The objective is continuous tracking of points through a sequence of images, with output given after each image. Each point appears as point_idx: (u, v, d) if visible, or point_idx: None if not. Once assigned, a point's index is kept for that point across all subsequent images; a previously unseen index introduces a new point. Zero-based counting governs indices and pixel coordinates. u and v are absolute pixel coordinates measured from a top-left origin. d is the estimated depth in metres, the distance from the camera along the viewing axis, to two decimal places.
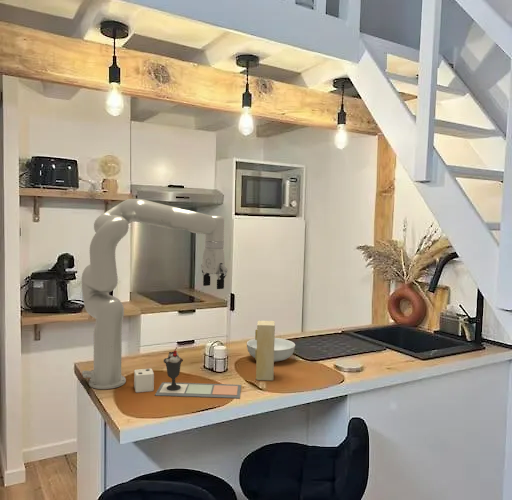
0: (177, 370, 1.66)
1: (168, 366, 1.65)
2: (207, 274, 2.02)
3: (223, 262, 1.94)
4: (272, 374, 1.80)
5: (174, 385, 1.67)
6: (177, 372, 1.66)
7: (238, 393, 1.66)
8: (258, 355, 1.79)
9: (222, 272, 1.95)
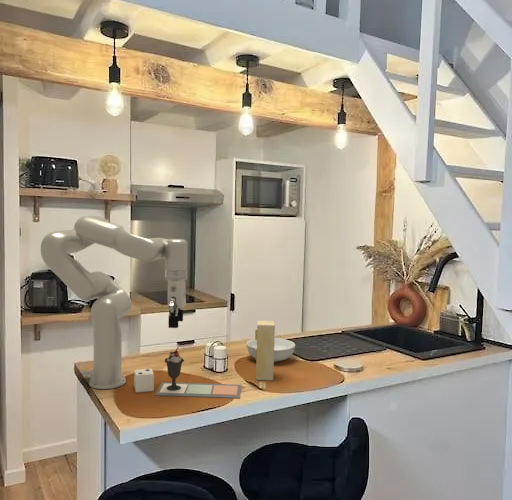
0: (178, 370, 1.66)
1: (169, 366, 1.65)
2: None
3: None
4: (272, 374, 1.80)
5: (174, 385, 1.67)
6: (178, 372, 1.66)
7: (238, 393, 1.66)
8: (258, 355, 1.79)
9: None
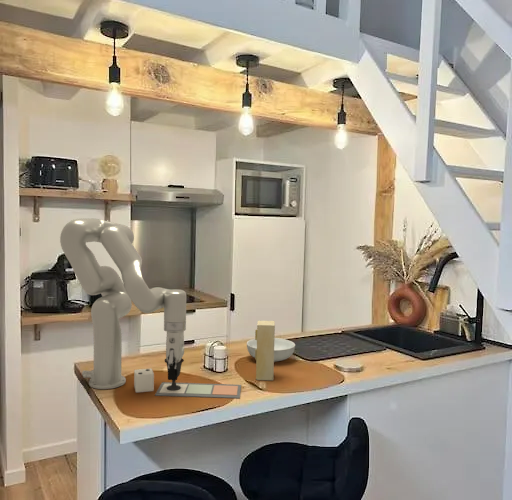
0: (178, 370, 1.66)
1: None
2: None
3: None
4: (272, 374, 1.80)
5: (174, 385, 1.67)
6: (178, 372, 1.66)
7: (238, 393, 1.66)
8: (258, 355, 1.79)
9: None
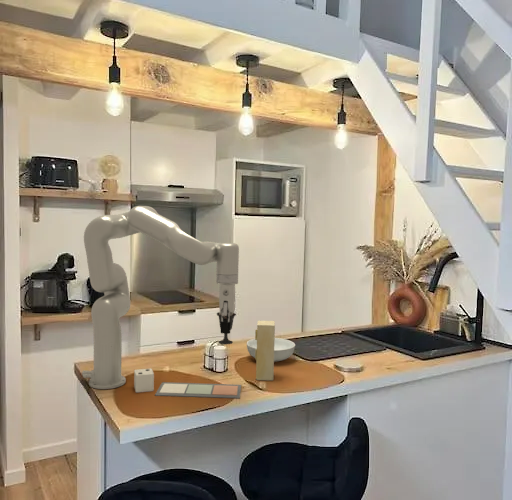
0: (230, 324, 1.64)
1: None
2: None
3: None
4: (272, 374, 1.80)
5: (226, 339, 1.66)
6: (230, 326, 1.65)
7: (238, 393, 1.66)
8: (258, 355, 1.79)
9: None
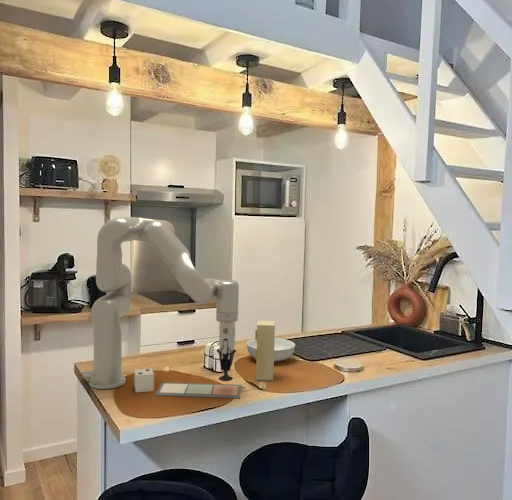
0: (230, 360, 1.66)
1: None
2: None
3: None
4: (272, 374, 1.80)
5: (226, 376, 1.67)
6: (230, 362, 1.66)
7: (238, 393, 1.66)
8: (258, 355, 1.79)
9: None
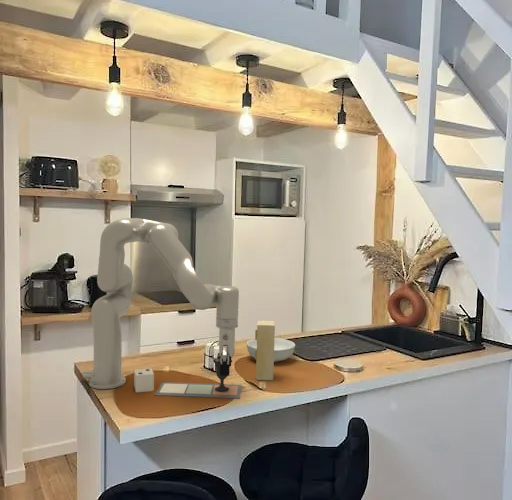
0: None
1: (218, 366, 1.66)
2: None
3: None
4: (272, 374, 1.80)
5: (223, 386, 1.67)
6: None
7: (238, 393, 1.66)
8: (258, 355, 1.79)
9: None
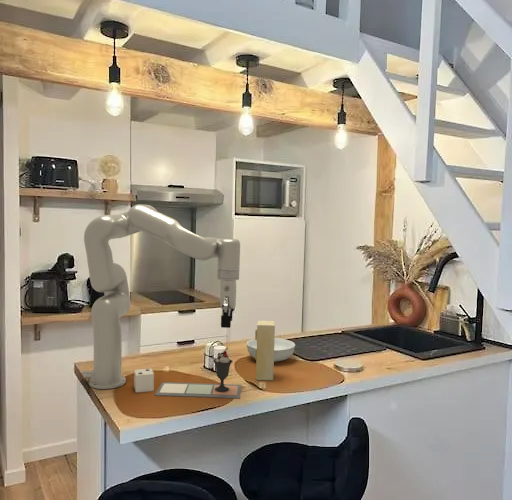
0: (227, 371, 1.66)
1: (218, 366, 1.66)
2: None
3: None
4: (272, 374, 1.80)
5: (223, 386, 1.67)
6: (227, 373, 1.67)
7: (238, 393, 1.66)
8: (258, 355, 1.79)
9: None
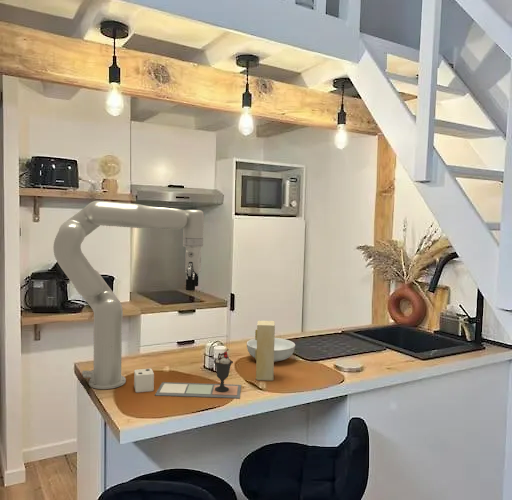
0: (227, 372, 1.66)
1: (219, 367, 1.65)
2: None
3: None
4: (272, 374, 1.80)
5: (223, 387, 1.67)
6: (227, 374, 1.66)
7: (238, 393, 1.66)
8: (258, 355, 1.79)
9: None
